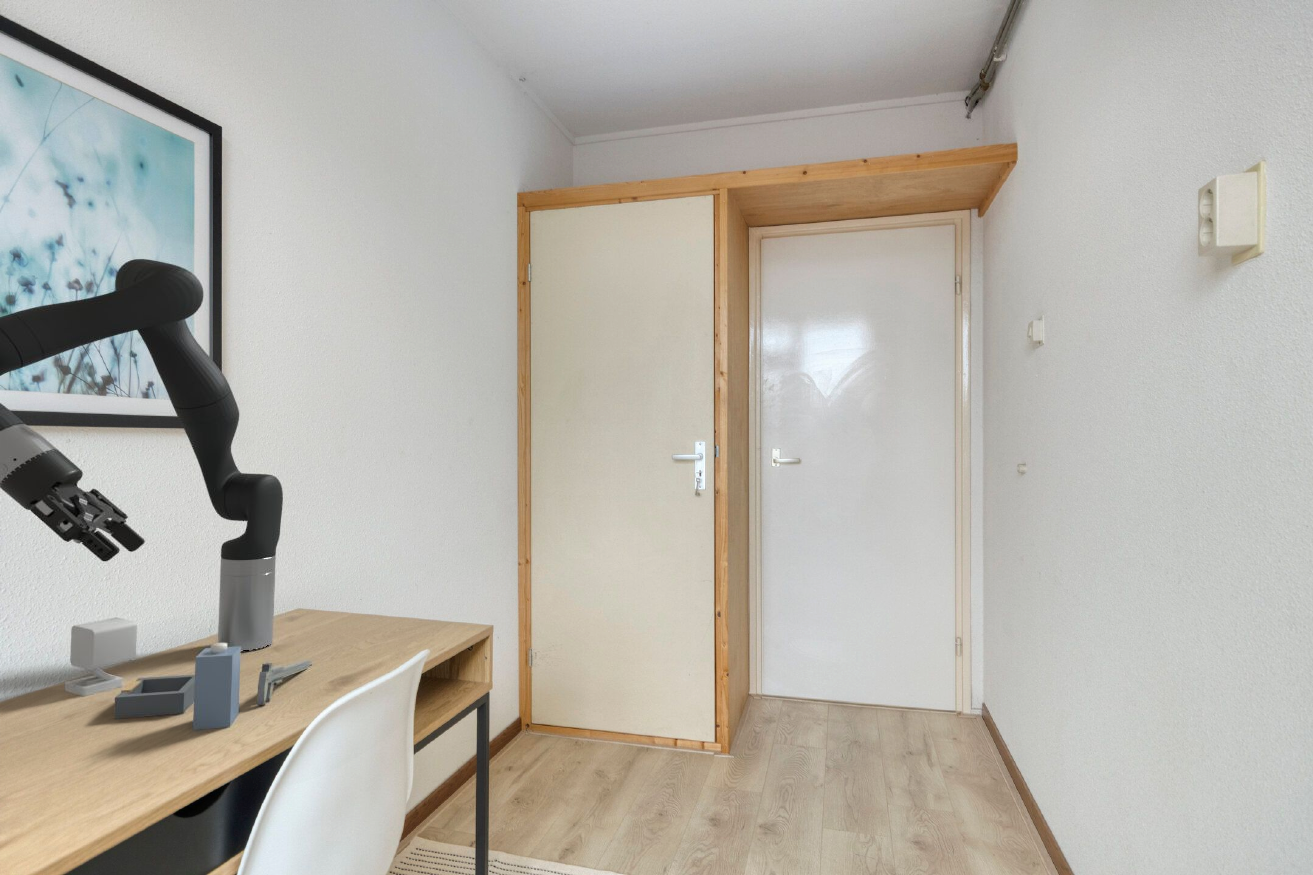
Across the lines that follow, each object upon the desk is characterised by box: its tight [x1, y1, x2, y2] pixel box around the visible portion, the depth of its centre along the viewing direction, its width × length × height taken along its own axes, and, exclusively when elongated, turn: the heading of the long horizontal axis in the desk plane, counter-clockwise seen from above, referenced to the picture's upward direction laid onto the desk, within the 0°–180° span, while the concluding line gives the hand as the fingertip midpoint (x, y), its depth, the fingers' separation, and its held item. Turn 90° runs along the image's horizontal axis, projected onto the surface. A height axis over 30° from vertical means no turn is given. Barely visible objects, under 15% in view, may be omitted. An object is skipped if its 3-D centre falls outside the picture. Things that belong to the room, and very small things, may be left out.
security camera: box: [64, 617, 138, 697], centre depth 112 cm, size 6×7×10 cm
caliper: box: [256, 659, 313, 706], centre depth 116 cm, size 20×1×6 cm, turn 8°
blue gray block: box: [192, 642, 242, 731], centre depth 100 cm, size 4×4×11 cm
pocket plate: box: [113, 674, 195, 720], centre depth 105 cm, size 9×8×3 cm
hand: (126, 551), depth 96 cm, fingers open, 8 cm apart
